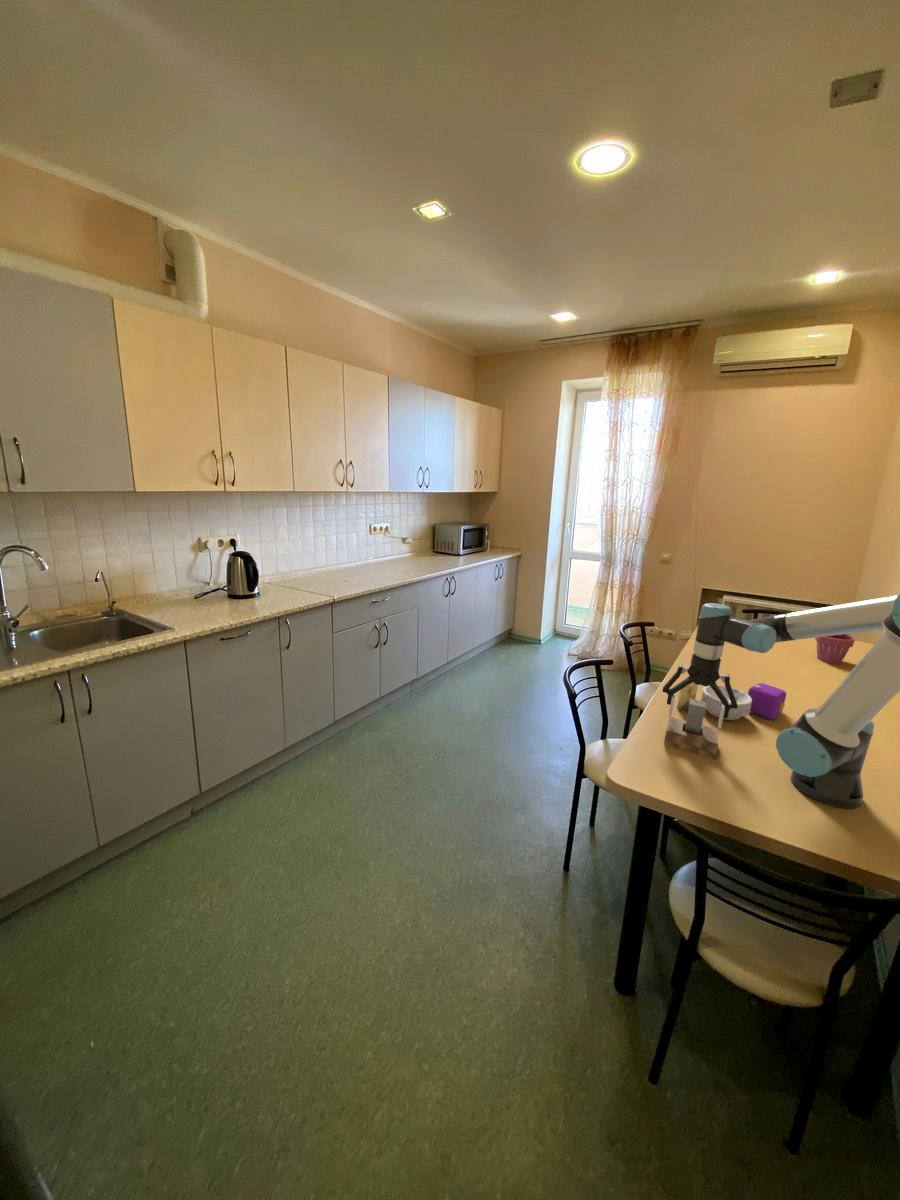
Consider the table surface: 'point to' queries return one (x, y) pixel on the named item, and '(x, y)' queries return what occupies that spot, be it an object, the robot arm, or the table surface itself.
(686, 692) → the cylinder
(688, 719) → the square bit
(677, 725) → the bore block
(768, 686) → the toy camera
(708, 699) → the paper bowls
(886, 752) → the table surface
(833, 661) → the plant pot
